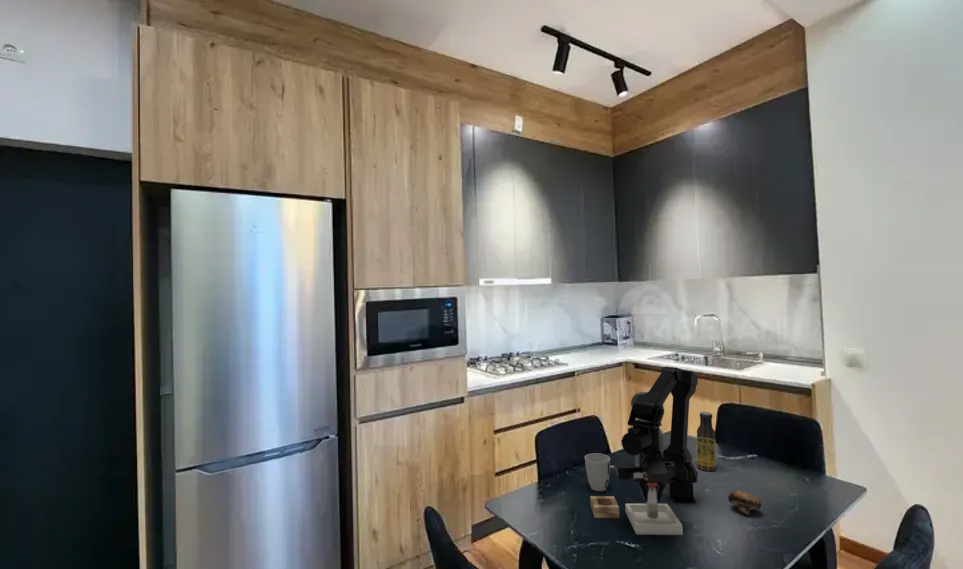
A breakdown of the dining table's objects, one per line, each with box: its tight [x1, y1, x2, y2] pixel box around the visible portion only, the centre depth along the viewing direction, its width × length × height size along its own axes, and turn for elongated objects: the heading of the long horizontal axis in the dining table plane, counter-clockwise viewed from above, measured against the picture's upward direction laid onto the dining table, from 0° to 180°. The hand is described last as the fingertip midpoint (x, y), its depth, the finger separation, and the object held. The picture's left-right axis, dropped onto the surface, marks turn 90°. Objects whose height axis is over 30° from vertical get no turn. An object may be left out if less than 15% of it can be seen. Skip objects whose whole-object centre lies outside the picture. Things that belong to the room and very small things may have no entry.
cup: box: [584, 452, 611, 492], centre depth 146 cm, size 8×8×10 cm
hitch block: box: [589, 495, 620, 519], centre depth 130 cm, size 7×7×3 cm
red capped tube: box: [643, 476, 659, 519], centre depth 123 cm, size 4×4×10 cm
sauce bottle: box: [696, 411, 717, 472], centre depth 158 cm, size 7×6×20 cm
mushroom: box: [728, 490, 762, 516], centre depth 127 cm, size 8×8×6 cm
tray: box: [624, 503, 684, 536], centre depth 123 cm, size 12×12×2 cm
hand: (651, 501), depth 123 cm, fingers closed on red capped tube, 3 cm apart
